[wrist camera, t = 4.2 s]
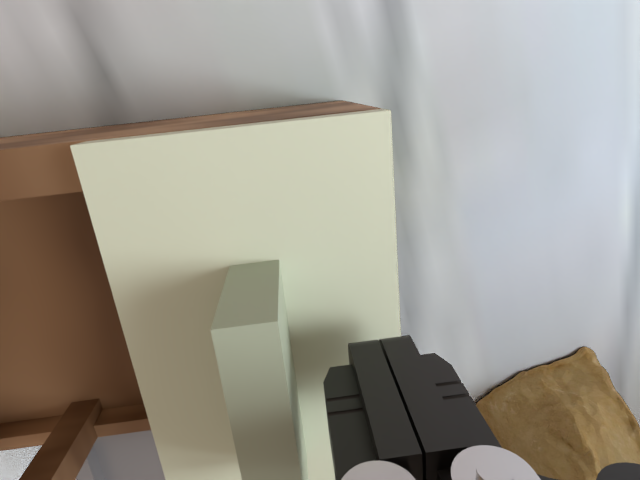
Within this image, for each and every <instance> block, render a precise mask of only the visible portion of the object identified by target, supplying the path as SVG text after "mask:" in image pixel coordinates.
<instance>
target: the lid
mask: <svg viewBox="0 0 640 480" xmlns="http://www.w3.org/2000/svg"><path fill="white" fill-rule="evenodd" d="M70 148H71V151H72V155H73V158H74V162H75V165H76V169H77V172H78V176H79V179H80V183H81V186H82V190H83V193H84V197H85V200H86V204H87V207H88V211H89V214H90V218H91V221H92V225H93V228H94V232H95V235H96V239H97V242H98V246H99V249H100V253H101V256H102V260H103V263H104V266H105V270H106V273H107V277H108V280H109V284H110V287H111V291H112V294H113V298H114V301H115V305H116V308H117V312H118V315H119V319H120V322H121V326H122V329H123V333H124V336H125V340H126V343H127V347H128V350H129V354H130V357H131V361H132V364H133V368H134V371H135V375H136V378H137V382H138V385H139V389H140V392H141V396H142V399H143V403H144V406H145V410H146V413H147V417H148V420H149V424H150V427H151V431H152V434H153V438H154V441H155V445H156V448H157V452H158V455H159V459H160V462H161V466H162V469H163V473H164V476H165V480H335V474H334V466H333V459H332V452H331V445H330V437H329V429H328V421H327V412H326V403H325V394H324V385H323V382H324V379H325V377H326V375H327V373H328V370H329V368H330V367H335V366H343V365H349V356H348V343H354V342H362V341H370V340H378V341H379V339H384V338H391V337H399V336H401V327H400V305H399V283H398V260H397V238H396V216H395V194H394V172H393V150H392V127H391V110H387V109H376V110H367V111H358V112H349V113H339V114H330V115H321V116H312V117H303V118H294V119H285V120H276V121H266V122H257V123H248V124H239V125H230V126H221V127H212V128H203V129H194V130H184V131H175V132H166V133H157V134H148V135H139V136H130V137H121V138H111V139H102V140H93V141H85V142H81V143H78V144H74V145H70Z"/></svg>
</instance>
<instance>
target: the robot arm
mask: <svg viewBox="0 0 640 480" xmlns="http://www.w3.org/2000/svg"><path fill="white" fill-rule="evenodd" d="M348 356H349V365H343V366H335V367H330V368H329V370H328V373H327V375H326V377H325V379H324V382H323V385H324V394H325V403H326V412H327V421H328V429H329V437H330V445H331V452H332V459H333V466H334V474H335V480H559V479H553V478H548V477H545V476H542V475H539V474H536V472H535V471H534V470H533V469H532V467H531V466H530V465H529V464H528V463H527V462H526V461H525V460H523V459H522V458H521V457H519V456H518V455H516V454H514V453H512V452H511V451H508V450H506V449H503V448H502V447H501V445H500V444H499V442H498V440H497V439H496V437H495V435H494V434H493V432H492V431H491V429H490V427H489V426H488V424H487V422H486V421H485V419H484V418H483V416H482V414H481V413H480V411H479V409H478V408H477V406H476V405H475V403H474V401H473V400H472V398H471V396H469V394H468V392H467V390H466V388H465V387H464V385H463V383H461V380H460V378H459V377H458V375H457V374H456V372H455V370H454V369H453V367H452V365H451V364H449V363H448V362H446V361H445V360H444V359H442V358H441V357H439V356H438V355H437V354H435V353H432V354H424V355H420V354H419V352H418V350H417V348H416V346H415V344H414V342H413V340H412V338H411V337H410V336H409V335H407V336H399V337H391V338H384V339H379V341H378V340H370V341H362V342H354V343H348ZM596 480H640V464H636V463H628V462H622V463H614V464H610V465H608V466H606V467H604V468H603V469H601V471H600V472H599V473H598V475H597V478H596Z"/></svg>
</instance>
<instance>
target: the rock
mask: <svg viewBox="0 0 640 480" xmlns="http://www.w3.org/2000/svg"><path fill="white" fill-rule="evenodd" d="M476 406H477V408H478V409H479V411H480V413H481V414H482V416H483V418H484V419H485V421H486V422H487V424H488V426H489V427H490V429H491V431H492V432H493V434H494V435H495V437H496V439H497V440H498V442H499V444H500V445H501V447H502V448H503V449H506V450H508V451H511V452H512V453H514V454H516V455H518V456H519V457H521V458H522V459H523V460H525V461H526V462H527V463H528V464H529V465H530V466H531V467H532V469H533V470H534V471H535V472H536V474H539V475H542V476H545V477H548V478H553V479H559V480H596V478H597V475H598V473H599V472H600V471H601V469H603V468H604V467H606V466H608V465H610V464H614V463H622V462H628V463H636V464H640V428H639V424H638V422H637V421H636V419H635V417H634V415H633V414H632V412H631V411H630V409H629V408H628V406H627V405H626V403H625V402H624V400H623V399H622V397H621V396H620V395H619V394H618V392H617V391H616V390H615V388H614V386H613V385H612V382H611V380H610V377H609V374H608V372H607V371H606V370H605V369H604V368H603V367H602V366H601V365H600V363H599V361H598V359H597V357H596V354H595V353H594V351H593V350H591V349H590V348H588V347H582V348H580V349H579V350H578V351H577V352H576V353H575V354H574V355H572V356H570V357H568V358H564V359H561V360H558V361H555V362H553V363H551V364H549V365H541V366H538V367H535V368H533V369H531V370H528V371H522V372H520V373H519V374H517V375H516V376H515V377H514V378H512V379H511V380H509V381H507V382H506V383H504V384H502V385H501V386H499V387H497V388H495V389H493V390H492V391H491V392H490V394H488V395H487V396H485V397H484V398H482V399H481V400H480V401H478V402H477V404H476Z"/></svg>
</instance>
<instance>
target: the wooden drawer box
mask: <svg viewBox="0 0 640 480" xmlns="http://www.w3.org/2000/svg"><path fill="white" fill-rule="evenodd" d="M376 109H380V108H377V107H372V106H367V105H362V104H357V103H352V102H347V101H332V102H323V103H314V104H305V105H295V106H286V107H277V108H268V109H259V110H249V111H240V112H231V113H222V114H213V115H203V116H194V117H185V118H176V119H166V120H157V121H148V122H139V123H130V124H120V125H111V126H102V127H93V128H83V129H74V130H65V131H56V132H47V133H37V134H28V135H19V136H10V137H0V451H2V450H9V449H16V448H24V447H31V446H38V445H42V447H41V448H40V450H39V451H38V453H37V454H36V455H35V457H34V458H33V460H32V461H31V463H30V464H29V466H28V467H27V469H26V470H25V472H24V473H23V475H22V476H21V478H20V479H19V480H75V479H76V477H77V475H78V473H79V471H80V469H81V468H82V466H83V464H84V462H85V460H86V458H87V456H88V454H89V453H90V451H91V449H92V447H93V445H94V443H95V441H96V439H97V438H98V437H104V436H111V435H119V434H126V433H133V432H141V431H148V430H151V427H150V424H149V420H148V417H147V413H146V410H145V406H144V403H143V399H142V396H141V392H140V389H139V385H138V382H137V378H136V375H135V371H134V368H133V364H132V361H131V357H130V354H129V350H128V347H127V343H126V340H125V336H124V333H123V329H122V326H121V322H120V319H119V315H118V312H117V308H116V305H115V301H114V298H113V294H112V291H111V287H110V284H109V280H108V277H107V273H106V270H105V266H104V263H103V260H102V256H101V253H100V249H99V246H98V242H97V239H96V235H95V232H94V228H93V225H92V221H91V218H90V214H89V211H88V207H87V204H86V200H85V197H84V193H83V190H82V186H81V183H80V179H79V176H78V172H77V169H76V165H75V162H74V158H73V155H72V151H71V148H70V145H74V144H78V143H81V142H85V141H93V140H102V139H111V138H121V137H130V136H139V135H148V134H157V133H166V132H175V131H184V130H194V129H203V128H212V127H221V126H230V125H239V124H248V123H257V122H266V121H276V120H285V119H294V118H303V117H312V116H321V115H330V114H339V113H349V112H358V111H367V110H376Z"/></svg>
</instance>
